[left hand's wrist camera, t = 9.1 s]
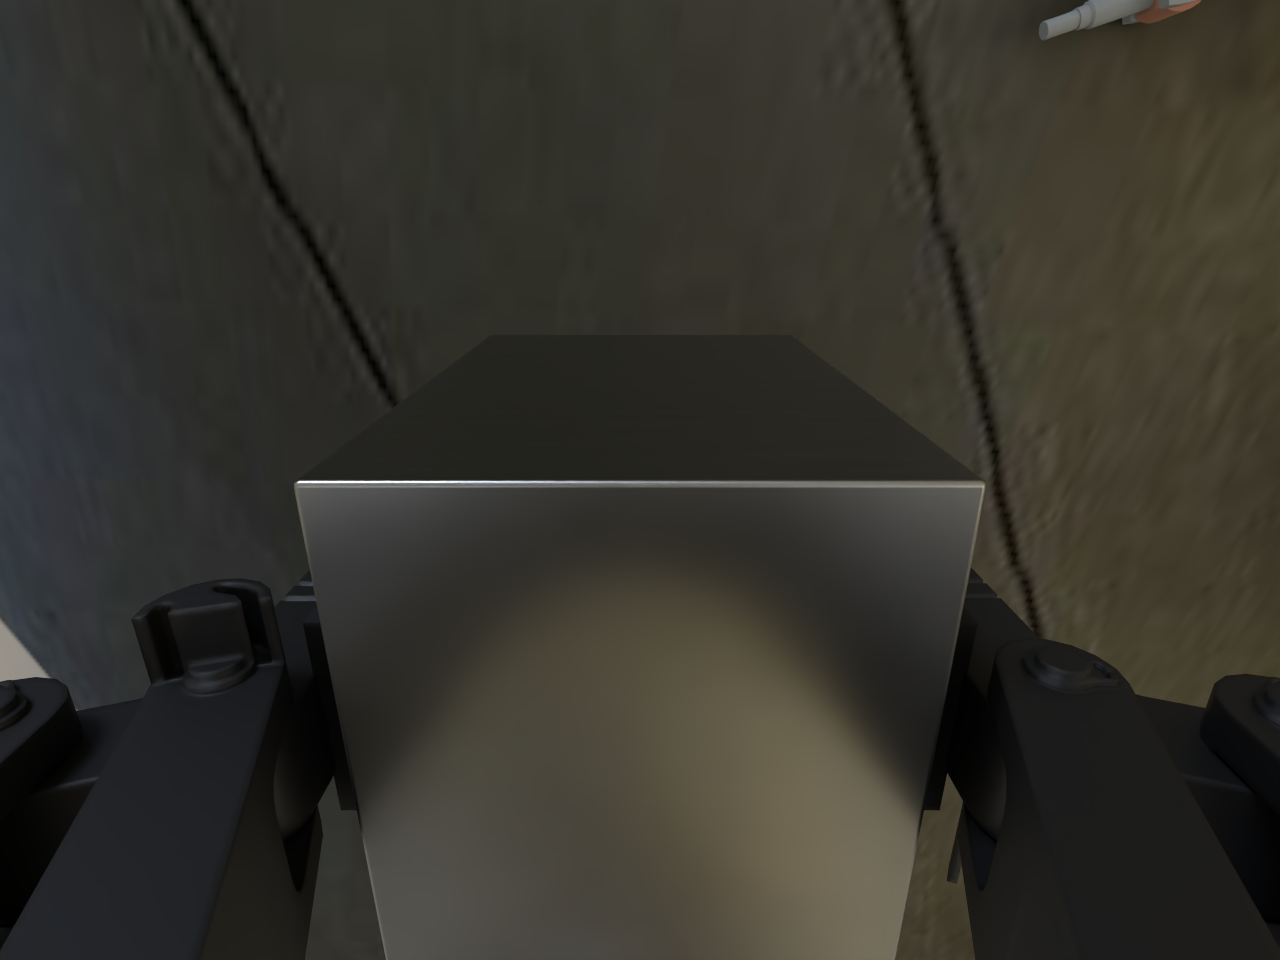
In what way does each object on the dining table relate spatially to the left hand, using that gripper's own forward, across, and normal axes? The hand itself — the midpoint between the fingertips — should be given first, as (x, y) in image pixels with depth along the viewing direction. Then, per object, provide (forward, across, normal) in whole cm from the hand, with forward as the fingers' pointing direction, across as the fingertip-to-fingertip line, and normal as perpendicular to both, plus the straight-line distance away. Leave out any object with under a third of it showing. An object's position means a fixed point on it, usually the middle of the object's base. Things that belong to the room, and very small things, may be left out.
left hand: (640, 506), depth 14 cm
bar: (+1, 0, -10) cm, 10 cm away
